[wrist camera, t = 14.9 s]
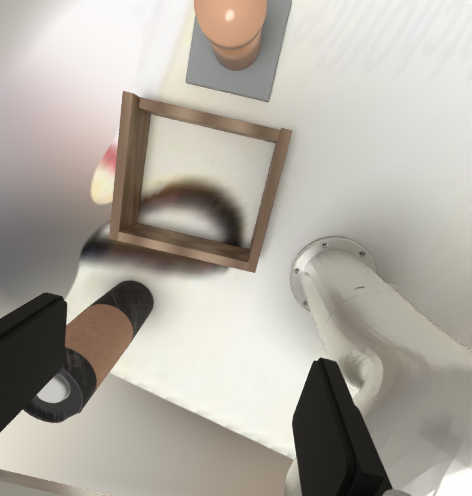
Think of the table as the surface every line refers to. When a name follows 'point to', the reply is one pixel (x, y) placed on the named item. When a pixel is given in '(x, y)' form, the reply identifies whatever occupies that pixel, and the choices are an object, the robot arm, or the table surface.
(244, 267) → the brown wooden square frame
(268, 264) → the table surface
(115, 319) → the travel mug
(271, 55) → the slate mat
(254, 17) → the terracotta pot
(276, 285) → the table surface
